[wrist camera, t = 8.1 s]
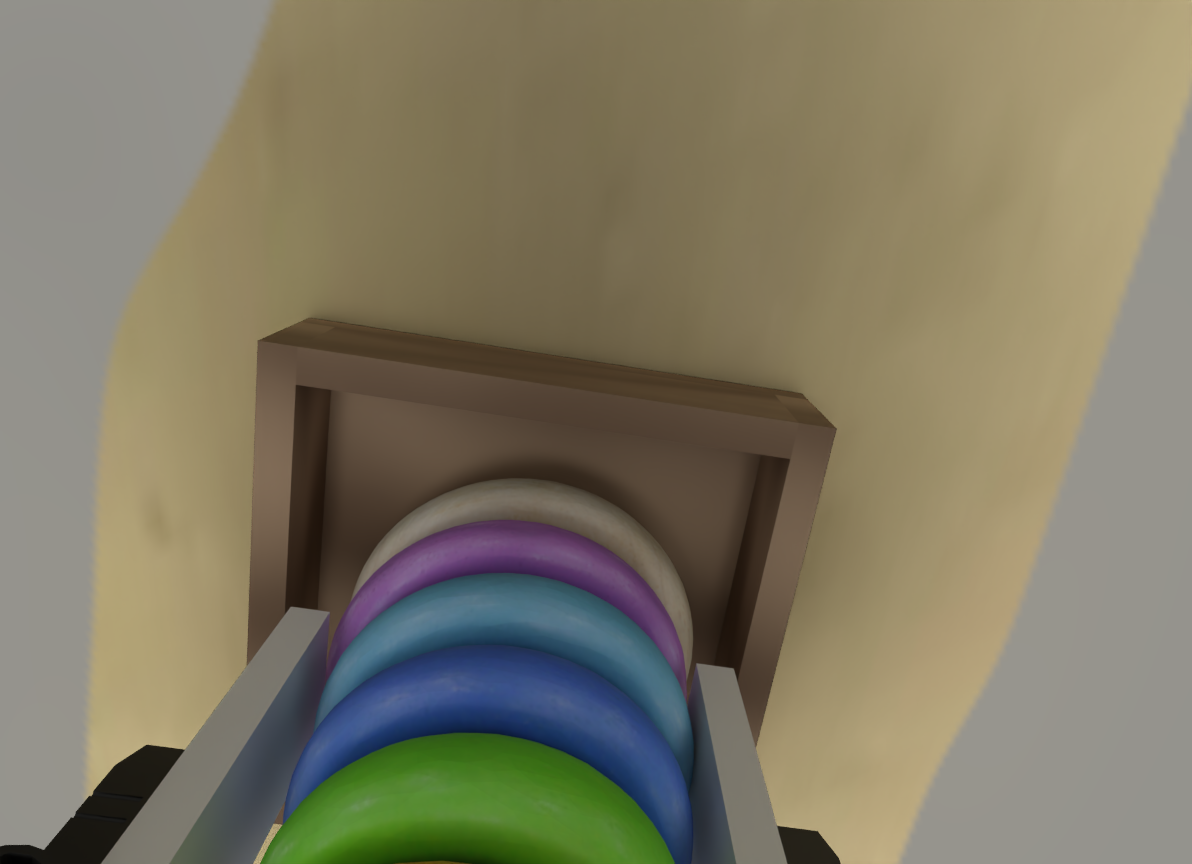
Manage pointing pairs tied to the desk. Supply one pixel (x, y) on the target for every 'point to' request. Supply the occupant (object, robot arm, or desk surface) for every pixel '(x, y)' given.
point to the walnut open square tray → (530, 471)
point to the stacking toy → (503, 693)
